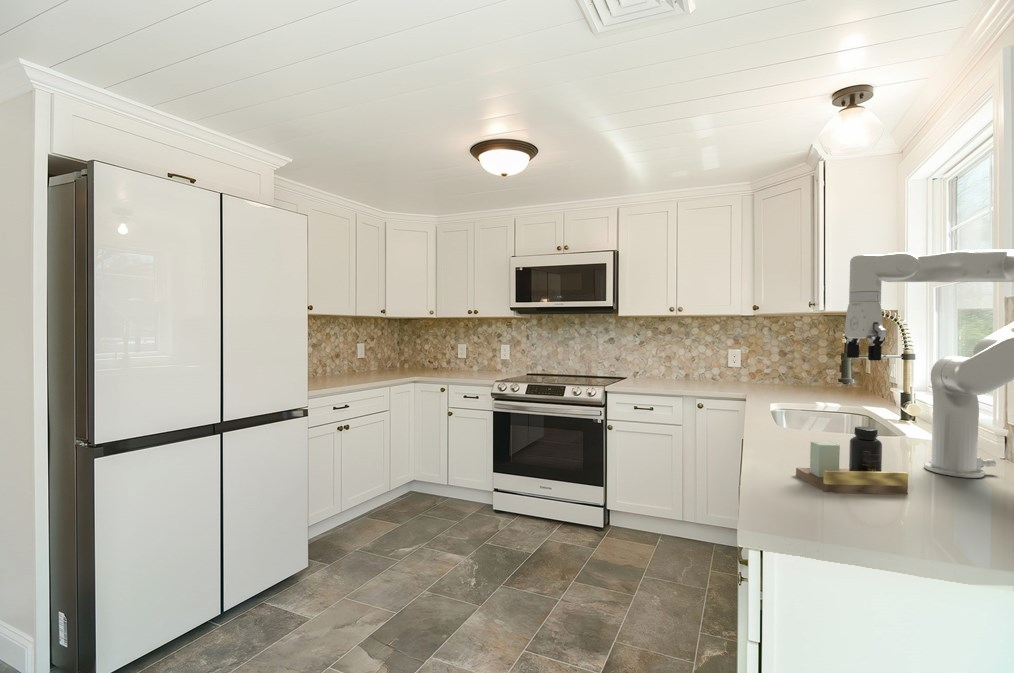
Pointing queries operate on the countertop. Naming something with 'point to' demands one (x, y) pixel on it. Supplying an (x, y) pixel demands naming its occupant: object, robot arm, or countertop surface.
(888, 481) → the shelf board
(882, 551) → the countertop surface
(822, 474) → the product box
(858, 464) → the supplement bottle
